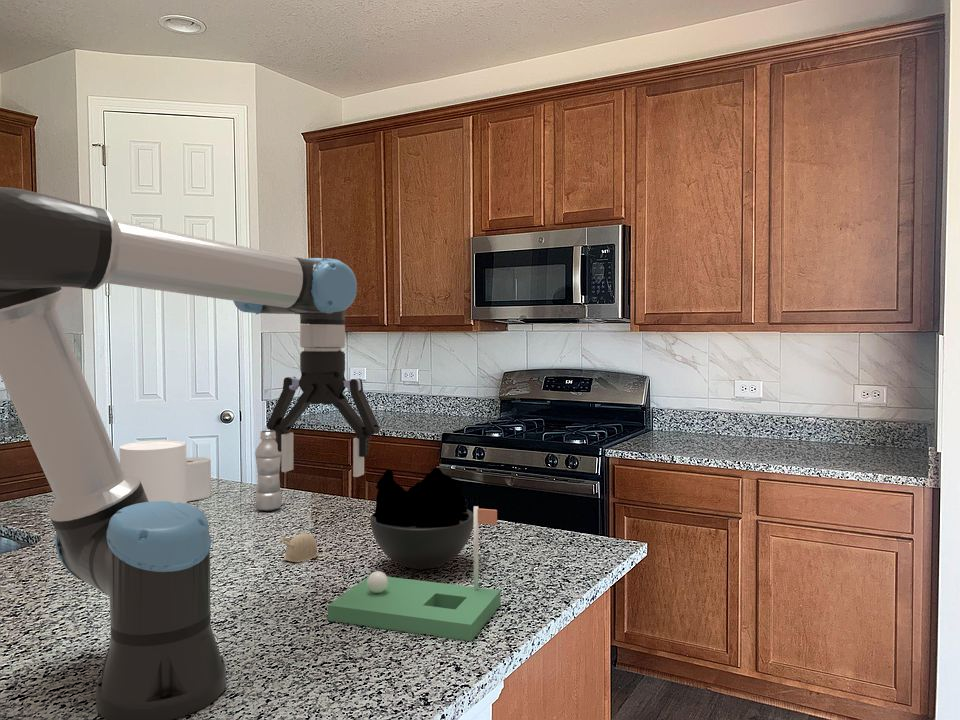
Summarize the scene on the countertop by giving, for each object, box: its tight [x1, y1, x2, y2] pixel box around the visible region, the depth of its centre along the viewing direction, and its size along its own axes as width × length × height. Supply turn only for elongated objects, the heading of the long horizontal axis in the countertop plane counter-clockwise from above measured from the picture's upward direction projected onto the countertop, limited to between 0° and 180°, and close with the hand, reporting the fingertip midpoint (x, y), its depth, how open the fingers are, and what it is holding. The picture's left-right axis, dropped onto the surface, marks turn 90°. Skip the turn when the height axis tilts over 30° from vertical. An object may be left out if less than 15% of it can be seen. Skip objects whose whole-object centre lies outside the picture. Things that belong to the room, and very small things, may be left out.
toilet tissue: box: [186, 456, 212, 502], centre depth 200 cm, size 11×12×10 cm
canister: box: [119, 439, 188, 504], centre depth 165 cm, size 14×14×20 cm
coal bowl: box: [369, 467, 474, 570], centre depth 142 cm, size 20×20×19 cm
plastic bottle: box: [254, 429, 283, 512], centre depth 186 cm, size 6×7×20 cm
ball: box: [367, 570, 388, 593], centre depth 122 cm, size 4×4×4 cm
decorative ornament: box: [280, 532, 319, 563], centre depth 147 cm, size 4×8×5 cm, turn 129°
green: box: [327, 505, 502, 642], centre depth 120 cm, size 15×24×16 cm, turn 72°
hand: (322, 473), depth 127 cm, fingers open, 13 cm apart
